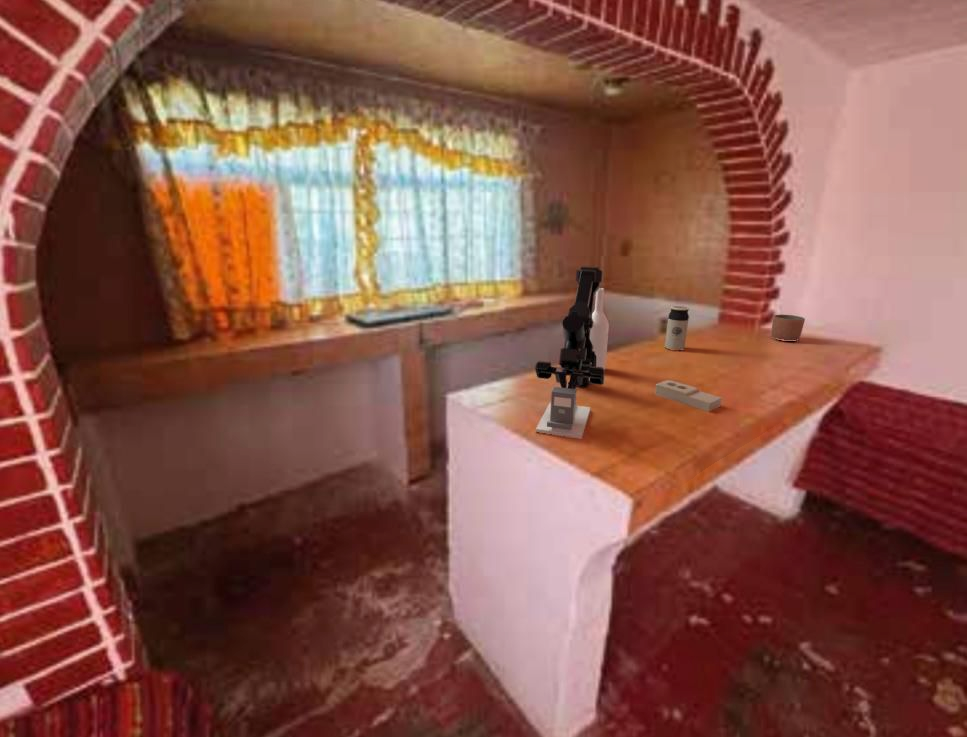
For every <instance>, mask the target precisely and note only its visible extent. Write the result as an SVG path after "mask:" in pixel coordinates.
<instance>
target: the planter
mask: <svg viewBox="0 0 967 737" xmlns="http://www.w3.org/2000/svg"><path fill="white" fill-rule="evenodd" d="M805 321H806V318H805V317H803V316H799V315H792V314H774V315H773V319H772V325H771V337H774V338H778V339H784V340H797V339H798V340H799V339H800V338H801V336H802V332H803V328H804V325H805ZM798 340H797V341H798Z"/></svg>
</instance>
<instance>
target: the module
mask: <svg viewBox="0 0 967 737" xmlns="http://www.w3.org/2000/svg"><path fill="white" fill-rule="evenodd" d="M577 391H578V389H577V388H576V389H569V388H568V387H567V388H561V386H560V387H559V386H554V387H553V388H552V390H551V399H550V402H551V414H550V421H551V422H558V423H565V424H573V422H574V419H575V407H576V406H577V394H578V393H577Z"/></svg>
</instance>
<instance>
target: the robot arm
mask: <svg viewBox="0 0 967 737" xmlns="http://www.w3.org/2000/svg"><path fill="white" fill-rule="evenodd" d="M604 273H605V272H604V270H601V266H600V267H599V266H581V267H580V268H579V269H576V270H575V282H577V289H576V295H575V299H574V304H573V305H572V306H571V307H570V308H569V309H568V313H567V315H565V317H564V318H563V320H562V321H561V322H562V323H561V324H562V332H563V337H564V345H563V348H560V353H559V361H558V364H559V366H552V363H551V361H545V360H544V361H543V360H538V361H537V362H536V363H535V368H534V369H535V374H536V378H538V379H545V380H548V379H550V378H552V375H554V376H555V382H556V383H558V384H559V385H560V388H569V389H577V388H578V387H581V388H587V387H588V386H590V385H591V384H592V385H598V386H603V385H604V382H605V371H604V369H603V367H596V362H597V356H596V355H595V351H593V349H594V347H593V344H592V342H591V340H590V332H591V328H592V327H593V325H594V322H593V319H592V313H593V312H594V304H595V303H594V302H595V296H596V292H597V291H598V289H599V288H601V283H602V282H603V281H604ZM567 376H569V381H568V380H567Z"/></svg>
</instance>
